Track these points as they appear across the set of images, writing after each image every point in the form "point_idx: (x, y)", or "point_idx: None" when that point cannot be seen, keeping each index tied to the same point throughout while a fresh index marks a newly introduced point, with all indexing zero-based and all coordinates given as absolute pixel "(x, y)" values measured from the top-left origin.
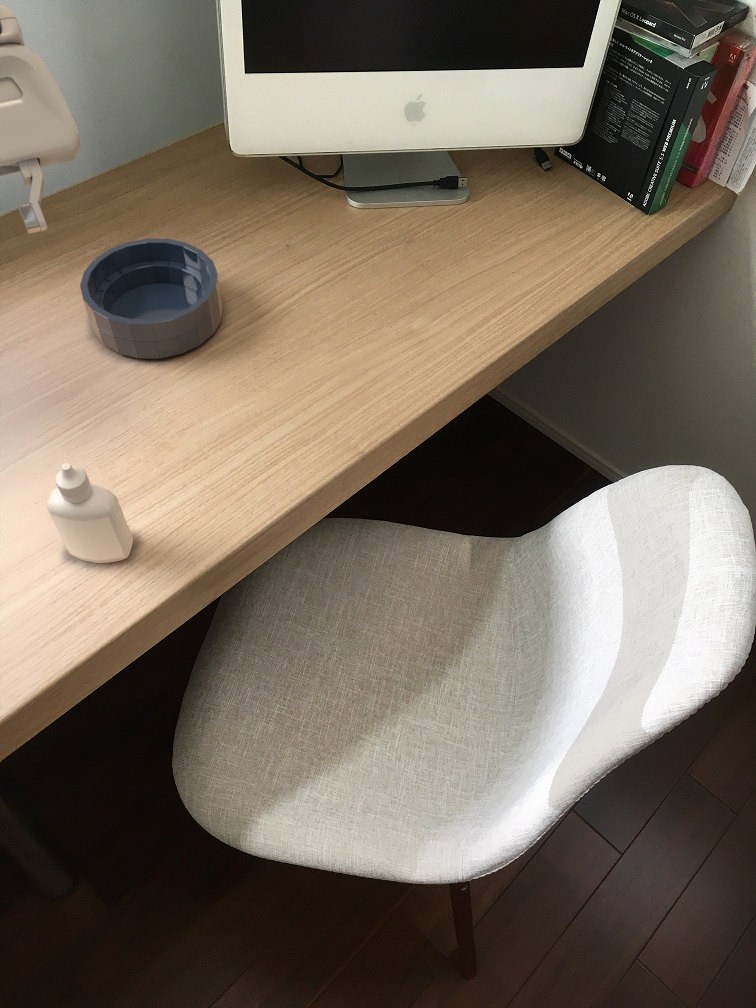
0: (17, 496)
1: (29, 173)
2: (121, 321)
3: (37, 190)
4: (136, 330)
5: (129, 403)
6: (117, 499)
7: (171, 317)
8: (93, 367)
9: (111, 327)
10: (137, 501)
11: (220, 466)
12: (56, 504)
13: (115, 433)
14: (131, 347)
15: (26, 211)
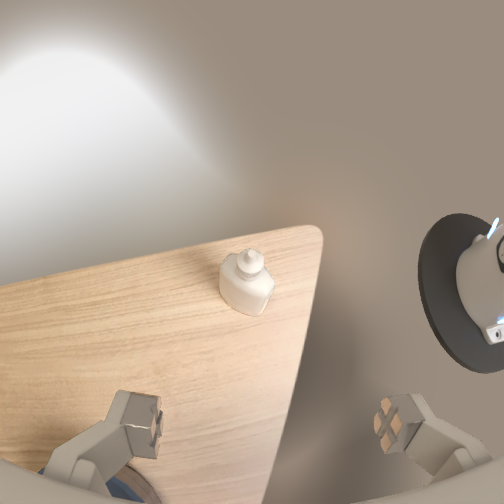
0: (288, 378)
1: (78, 465)
2: (132, 491)
3: (89, 434)
4: (123, 478)
5: (166, 433)
6: (219, 269)
7: None
8: (181, 489)
9: (145, 497)
10: (201, 326)
11: (128, 324)
12: (268, 273)
13: (190, 406)
14: (138, 480)
15: (139, 414)
